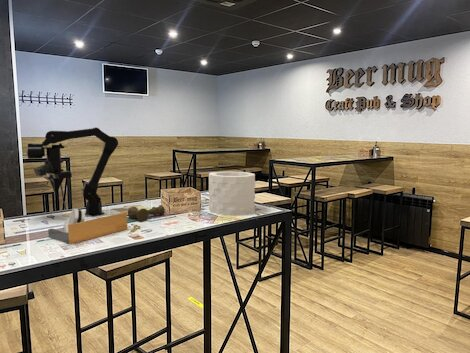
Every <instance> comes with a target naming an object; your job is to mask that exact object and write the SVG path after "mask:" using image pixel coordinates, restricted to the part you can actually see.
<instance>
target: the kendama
mask: <svg viewBox="0 0 470 353" xmlns="http://www.w3.org/2000/svg"><path fill="white" fill-rule="evenodd" d="M165 212H166V210H165V206H164V205H162V204H161V205H158V206H157V207H156V206H152V207H151V208H150V209H146V208H141V209H138V207H136V206H131V207H129V208H128V209H127V218H129V219H135V218H136V219H137V221H139V222H145V221H147V220H148V218H149V216H150V215H151V216H157V215H159V216H164V215H165Z"/></svg>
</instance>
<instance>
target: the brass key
mask: <svg viewBox="0 0 470 353" xmlns="http://www.w3.org/2000/svg"><path fill="white" fill-rule="evenodd" d="M140 229H141V226H140V225H134V226H133V228H132V229H131V230H129V231H130V233H135V232H136V231H137V230H140Z"/></svg>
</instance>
